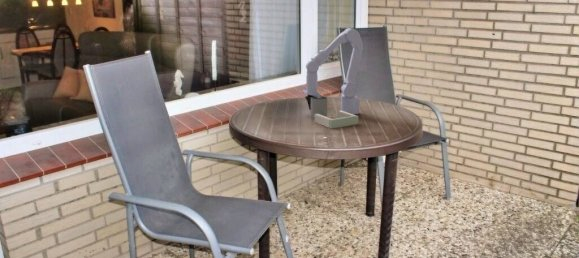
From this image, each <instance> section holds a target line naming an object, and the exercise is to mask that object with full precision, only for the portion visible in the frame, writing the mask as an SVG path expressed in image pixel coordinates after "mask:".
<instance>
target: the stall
mask: <svg viewBox="0 0 579 258" xmlns="http://www.w3.org/2000/svg"><path fill="white" fill-rule="evenodd" d="M337 112H338V113H337V118H331V117H328V116H327V117H326V116H323V115H320V114H315V118H314V123H316V124H319V125H321V126H323V127H326V128H328V129H332V130H333V129H337V128H343V127H348V126H349V127H350V126H355V125H358V124H359V116H358V114H350V113H347V112H344V111H341V109H340V110H337Z"/></svg>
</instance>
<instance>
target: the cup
mask: <svg viewBox="0 0 579 258" xmlns="http://www.w3.org/2000/svg"><path fill="white" fill-rule="evenodd" d="M315 114H320V115H323V116H326V117H328V97H327V96H323V95H321V98H319V99H318V98H316V97H314V96H313V97H311V110H310V118H311V119H315Z"/></svg>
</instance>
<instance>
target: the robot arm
mask: <svg viewBox="0 0 579 258" xmlns="http://www.w3.org/2000/svg"><path fill="white" fill-rule="evenodd" d="M345 43H346V44H347V43H349V44H350V45H351V46H352V52H351V55H350V60H349V64H348V69H347V73H346V76H345V79H344V81H343V83H342V85H341V87H340V91H341V93H342V94H341V95H340V97H341V98H340V110H341V111H344V112H347V113H350V114H353V115H359V114H361V112H360V105H361V104H360V98H359V96H357V95H356V92H357V91H356V84H357V82H356V79H357V75H358V71H359V67H360V64H361V63H360V62H361V58H362V55H363V51H364V50H363V49H364V43H363V40H362V36H361V34H360V32H358V30H357V29H355V28H353V27H348V28H345V29H344V31H342V32H340V33H339V34H338V35H337V36H336V38H334V39H333V40H332V42H330V43H329V45H327V47H326V48H325V49H321V50H317V53H316V54H315V55H314V56H313V57H311V58H310V60H308V61H307V62H306V65H305V69H306V82H305V83H306V84H305V86H306V89H302V95H306V96H305V97H304V98H305V100H306V101H307V102H306V103H307V105H308V109H309V110H310V111H311V97H313V96H314V97H316V98H318V99H319V98H321V96H322V93H321V94H320V92H318V71H319V67H322V66H323V64H324V63H325V62H326V61H327V60H329V58H330V55H331V54H332V52H333V51H334V50H336V49H337V48H338V47H339V46H340V45H341V44H345ZM337 114H338V111H337Z"/></svg>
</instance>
